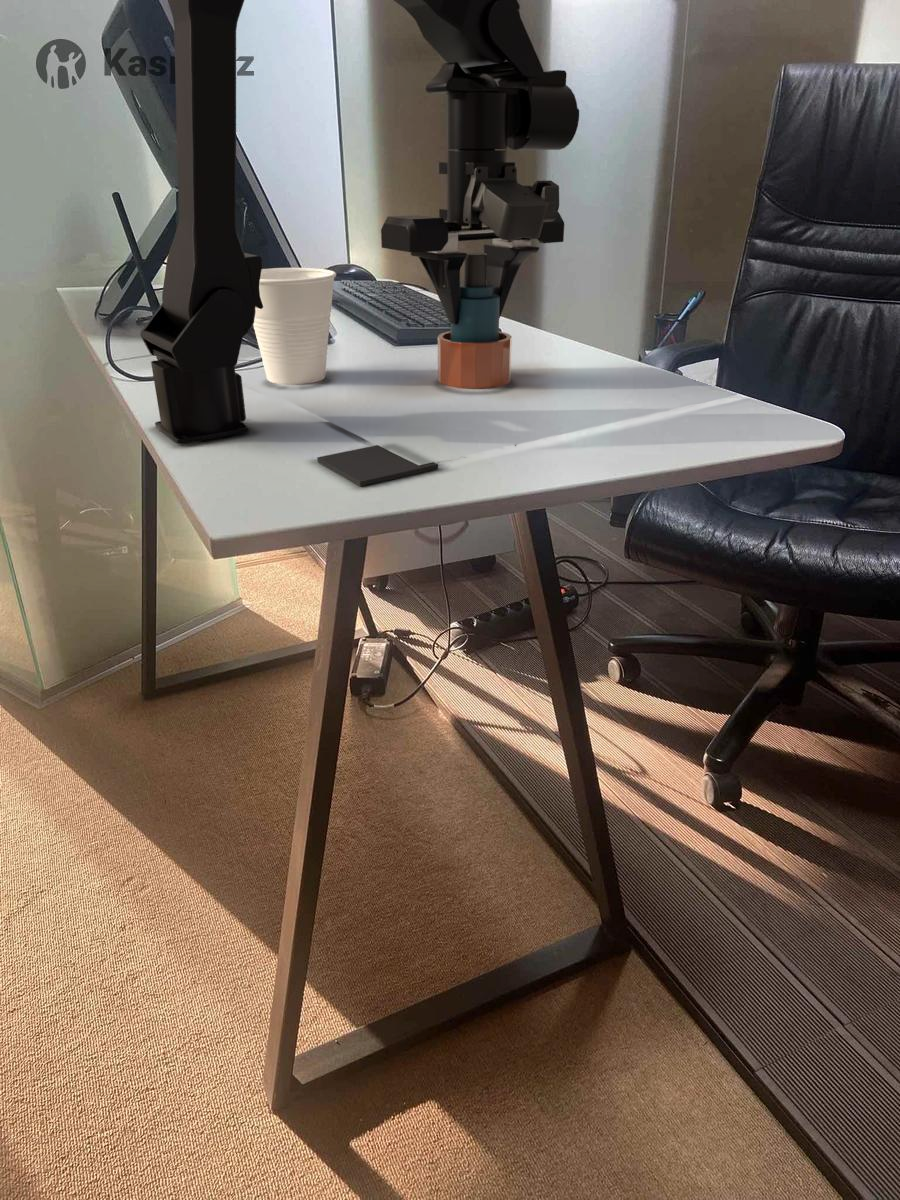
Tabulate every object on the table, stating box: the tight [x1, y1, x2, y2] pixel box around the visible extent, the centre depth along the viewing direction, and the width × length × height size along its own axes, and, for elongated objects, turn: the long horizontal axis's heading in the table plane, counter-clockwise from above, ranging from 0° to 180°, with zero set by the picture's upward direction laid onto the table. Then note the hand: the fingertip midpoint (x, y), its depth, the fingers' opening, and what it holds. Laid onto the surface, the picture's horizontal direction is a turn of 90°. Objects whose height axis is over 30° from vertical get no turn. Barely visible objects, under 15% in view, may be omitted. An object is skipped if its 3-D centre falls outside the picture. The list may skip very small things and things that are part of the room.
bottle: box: [450, 252, 500, 343], centre depth 88 cm, size 5×5×12 cm
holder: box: [437, 330, 513, 390], centre depth 90 cm, size 8×8×5 cm
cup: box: [253, 267, 337, 385], centre depth 90 cm, size 10×10×11 cm
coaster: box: [316, 444, 439, 487], centre depth 68 cm, size 7×7×1 cm
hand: (474, 321), depth 88 cm, fingers closed on bottle, 5 cm apart
